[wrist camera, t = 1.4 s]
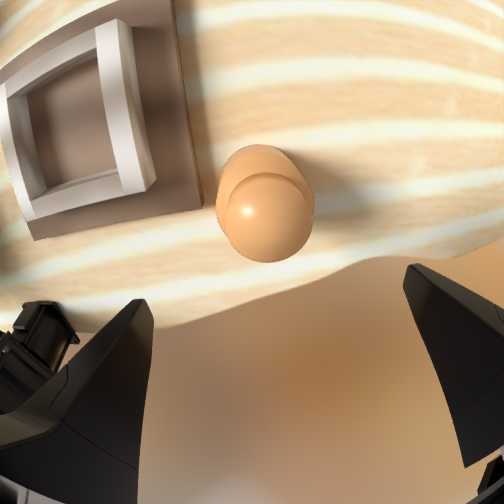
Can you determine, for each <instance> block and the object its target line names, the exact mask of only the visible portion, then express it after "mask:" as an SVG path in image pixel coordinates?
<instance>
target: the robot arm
mask: <svg viewBox="0 0 504 504" xmlns="http://www.w3.org/2000/svg"><path fill="white" fill-rule="evenodd" d="M403 289H404V292H405V295H406V297H407V300H408V303H409V306H410V309H411V311H412V314H413V317H414V320H415V323H416V325H417V327H418V330H419V332H420V334H421V337H422V339H423V341H424V343H425V346H426V348H427V350H428V353H429V355H430V358H431V360H432V363H433V365H434V368H435V370H436V373H437V376H438V378H439V381H440V384H441V387H442V389H443V392H444V395H445V398H446V401H447V404H448V407H449V410H450V413H451V417H452V420H453V424H454V427H455V431H456V435H457V439H458V442H459V446H460V450H461V455H462V459H463V464H464V467H465V468H467V467H469V466H471V465H472V464H474V463H476V462H478V461H480V460H481V459H483V458H484V457H486V456H488V455H489V454H491V453H493V452H494V451H495V450H497V449H500V452H501V454H500V455H498V456H497V457H496V458H494V459H493V460H492V461H490V462H489V463H488V464H487V467H486V470H485V472H484V475H483V478H482V480H481V482H480V485H479V487H478V490H477V492H478V496H477V497H475V498H474V499H472V500H471V501H469V502H468V503H466V504H504V309H503V308H501V307H499V306H498V305H496V304H493V303H492V302H490V301H489V300H487V299H485V298H483V297H482V296H480V295H478V294H476V293H475V292H473V291H471V290H469V289H467V288H465V287H464V286H462V285H460V284H458V283H456V282H454V281H452V280H450V279H449V278H447V277H445V276H443V275H441V274H439V273H437V272H435V271H433V270H431V269H429V268H427V267H425V266H423V265H421V264H419V263H415V264H410V265H409V266H408V267H407V270H406V274H405V278H404V282H403ZM22 307H23V310H22V312H21V313H20V315H19V316H18V318H17V320H16V321H15V323H14V324H13V329H14V331H13V332H12V334H11V333H10V332H9V331H7V332H6V333H5V332H2V331H0V504H137V495H138V473H139V470H138V469H139V456H140V444H141V433H142V424H143V415H144V407H145V400H146V392H147V386H148V379H149V373H150V366H151V356H152V341H153V327H154V319H153V315H152V313H151V311H150V309H149V307H148V304H147V302H146V301H145V300H144V299H134V300H132V301H131V302H130V303H129V304H127V305H126V306H125V307H124V308H123V309H122V310H121V311H120V312H119V313H118V314H117V315H116V316H115V317H114V318H113V319H111V320H110V321H109V322H108V323H107V324H106V325H105V326H104V327H103V328H102V329H101V330H100V331H99V332H98V333H97V334H96V335H95V336H94V337H93V338H92V339H91V340H90V341H89V342H88V343H87V344H86V345H85V346H84V347H82V348H81V349H80V351H79V352H77V353H76V354H75V356H74V357H73V358H71V360H69V361H68V364H66V365H65V366H64V367H63V368H62V369H61V370H60V371H59V372H58V369H59V367H60V365H61V362H62V360H63V358H64V356H65V353H66V351H67V349H68V347H69V345H70V344H79V343H80V339H79V338H78V337H77V335H76V333H75V332H74V331H73V329H72V328H71V326H70V325H69V323H68V322H67V320H66V318H65V317H64V315H63V314H62V312H61V311H60V309H59V307H58V306H57V304H56V303H54V302H37V303H24V304H23V305H22ZM3 350H4V351H5V352H3ZM57 372H58V373H57Z"/></svg>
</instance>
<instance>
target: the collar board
mask: <svg viewBox="0 0 504 504" xmlns="http://www.w3.org/2000/svg"><path fill="white" fill-rule="evenodd" d="M0 137H1V142H2V146H3V151H4V155H5V159H6V163H7V167H8V171H9V175H10V178H11V182H12V185H13V188H14V191H15V194H16V197H17V200H18V203H19V206H20V209H21V212H22V214H23V217H24V220H25V222H27V225H28V227H29V230H30V232H31V235H32V237H33V239H34V241H36V240H41V239H45V238H49V237H53V236H57V235H62V234H66V233H71V232H75V231H80V230H85V229H89V228H94V227H99V226H104V225H109V224H114V223H119V222H125V221H130V220H136V219H141V218H147V217H153V216H158V215H164V214H171V213H177V212H183V211H190V210H196V209H202V207H203V203H204V200H203V195H202V190H201V185H200V179H199V174H198V169H197V163H196V158H195V152H194V146H193V140H192V134H191V128H190V122H189V116H188V110H187V103H186V97H185V90H184V83H183V76H182V69H181V62H180V54H179V46H178V38H177V30H176V21H175V12H174V2H173V0H119V1H116V2H114V3H111V4H109V5H106V6H104V7H102V8H99V9H97V10H95V11H93V12H91V13H88V14H86V15H84V16H82V17H80V18H78V19H76V20H74V21H72V22H71V23H69V24H67V25H65V26H63V27H61V28H60V29H58V30H56V31H55V32H53V33H51V34H50V35H48V36H46V37H45V38H43V39H42V40H40V41H38V42H37V43H35V44H34V45H32V46H31V47H30V48H28V49H27V50H25V51H24V52H22V53H21V54H20V55H18V56H17V57H16V58H14V59H13V60H12V61H11V62H9V63H8V64H7V65H5V66H4V67H3V68H2V69H1V70H0Z"/></svg>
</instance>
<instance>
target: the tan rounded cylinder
mask: <svg viewBox="0 0 504 504" xmlns="http://www.w3.org/2000/svg"><path fill="white" fill-rule="evenodd" d="M313 211H314V198H313V193H312V190H311V188H310V186H309V184H308V182H307V181H306V179H305V178H304V177H303V176H302V174H301V173H300V172H299V171H298V169H297V168H296V167H295V166H294V164H293V163H292V162H291V161H290V159H289V158H288V157H287V156H286V155H285V154H284V153H283V152H281V151H280V150H278V149H276V148H274V147H272V146H268V145H262V144H256V145H249V146H246V147H244V148H241V149H239V150H238V151H236V152H235V153H234V154H233V155H231V157H230V158H229V159H228V160H227V162H226V163H225V165H224V167H223V170H222V174H221V179H220V184H219V189H218V194H217V199H216V216H217V220H218V223H219V225H220V227H221V229H222V231H223V232H224V233H225V235H226V236H227V237H228V239H229V241H230V243H231V245H232V246H233V247H234V249H235V250H236V251H237V252H238V253H240V254H241V255H242V256H244V257H246V258H248V259H250V260H253V261H257V262H264V263H270V262H277V261H281V260H284V259H287V258H289V257H291V256H292V255H294V254H295V253H297V252H298V251H299V250H300V249H301V248H302V247H303V246H304V244H305V243H306V242H307V240H308V238H309V236H310V233H311V229H312V216H313Z"/></svg>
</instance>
